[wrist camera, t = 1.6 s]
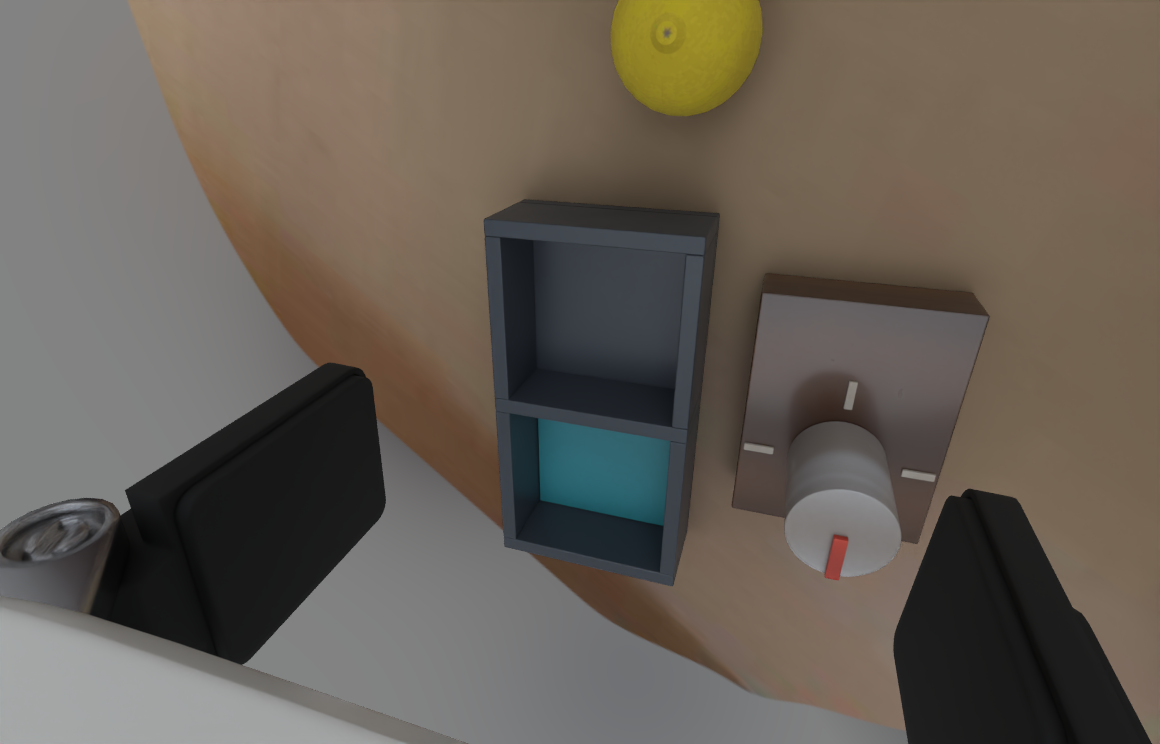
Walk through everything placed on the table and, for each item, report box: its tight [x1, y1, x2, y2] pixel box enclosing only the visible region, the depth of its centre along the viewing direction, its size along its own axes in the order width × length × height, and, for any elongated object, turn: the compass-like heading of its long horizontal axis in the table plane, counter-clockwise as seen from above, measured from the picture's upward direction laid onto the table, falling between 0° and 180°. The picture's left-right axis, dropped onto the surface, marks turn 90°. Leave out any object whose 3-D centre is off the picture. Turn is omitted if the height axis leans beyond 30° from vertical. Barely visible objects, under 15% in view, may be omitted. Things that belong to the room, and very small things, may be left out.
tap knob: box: [784, 421, 901, 580], centre depth 28 cm, size 4×4×6 cm
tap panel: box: [732, 273, 990, 544], centre depth 31 cm, size 12×9×3 cm
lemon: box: [611, 0, 763, 116], centre depth 24 cm, size 6×6×8 cm
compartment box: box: [484, 199, 720, 586], centre depth 34 cm, size 19×10×5 cm, turn 0°
